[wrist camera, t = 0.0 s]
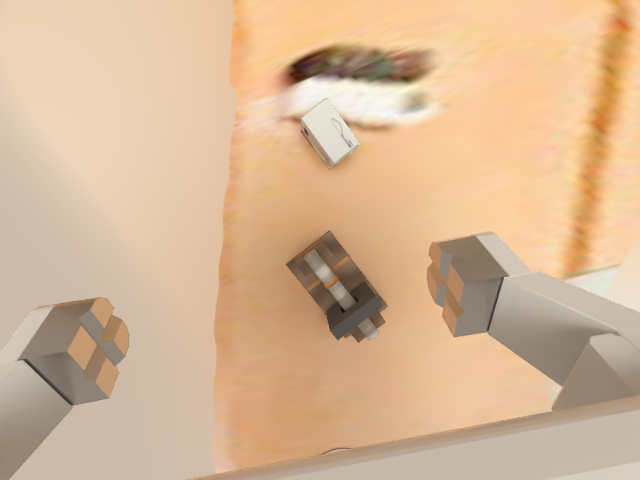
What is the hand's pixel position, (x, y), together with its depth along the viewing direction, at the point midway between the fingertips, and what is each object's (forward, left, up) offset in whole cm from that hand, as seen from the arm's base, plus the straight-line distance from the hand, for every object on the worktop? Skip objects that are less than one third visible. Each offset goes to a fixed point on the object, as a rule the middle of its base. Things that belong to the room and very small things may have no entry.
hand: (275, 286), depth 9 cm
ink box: (+6, -11, -55) cm, 56 cm away
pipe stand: (-16, +3, -54) cm, 57 cm away
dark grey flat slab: (-19, +3, -52) cm, 55 cm away
